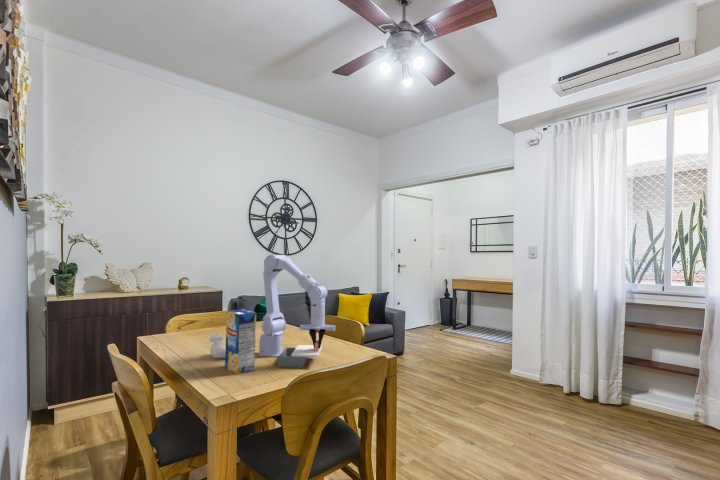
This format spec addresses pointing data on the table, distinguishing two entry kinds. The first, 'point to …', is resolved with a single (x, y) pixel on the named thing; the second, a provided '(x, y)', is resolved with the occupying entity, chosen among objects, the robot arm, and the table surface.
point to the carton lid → (307, 350)
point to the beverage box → (240, 341)
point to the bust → (217, 346)
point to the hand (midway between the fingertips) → (317, 347)
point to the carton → (290, 359)
